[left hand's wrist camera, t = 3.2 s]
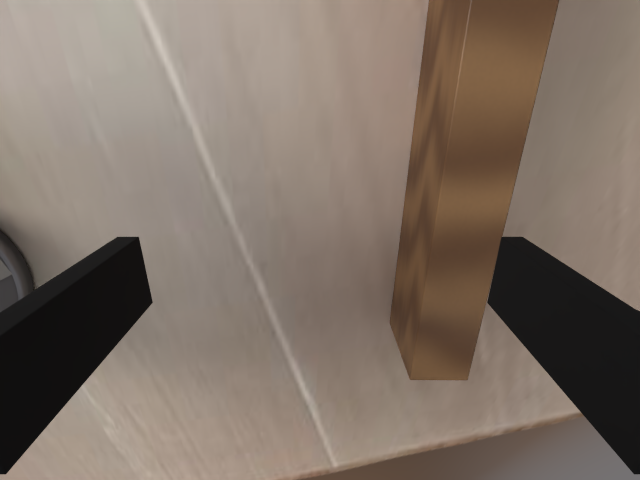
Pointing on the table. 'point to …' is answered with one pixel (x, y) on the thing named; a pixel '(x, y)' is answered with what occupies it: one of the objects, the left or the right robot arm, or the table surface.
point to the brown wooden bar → (463, 173)
